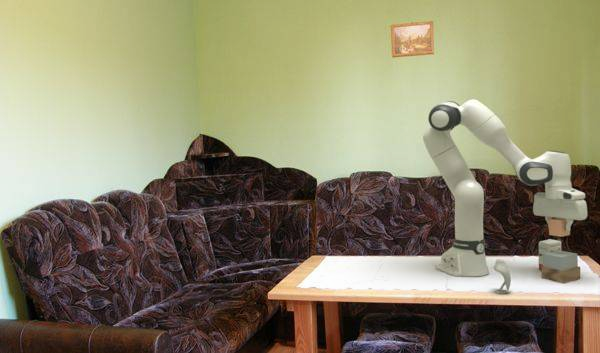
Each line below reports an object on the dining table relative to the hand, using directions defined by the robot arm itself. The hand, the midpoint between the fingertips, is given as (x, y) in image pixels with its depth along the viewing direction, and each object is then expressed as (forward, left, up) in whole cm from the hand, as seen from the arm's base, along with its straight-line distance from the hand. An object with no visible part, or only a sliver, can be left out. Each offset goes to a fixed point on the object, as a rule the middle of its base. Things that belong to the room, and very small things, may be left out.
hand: (559, 229), depth 184 cm
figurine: (-1, -30, -19) cm, 35 cm away
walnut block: (0, 0, -19) cm, 19 cm away
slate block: (0, 0, -14) cm, 14 cm away
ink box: (-11, +9, -19) cm, 24 cm away
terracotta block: (0, 0, -2) cm, 2 cm away
